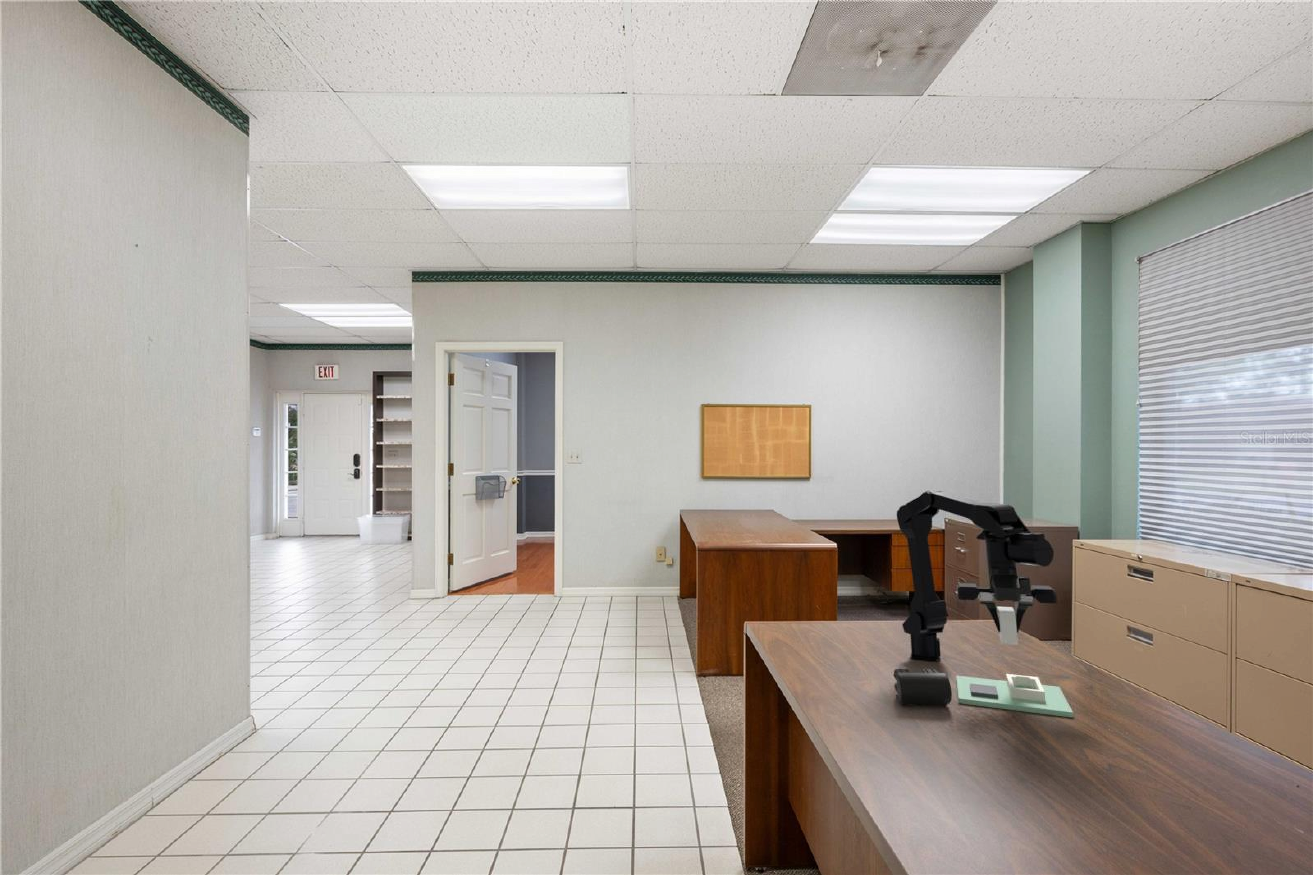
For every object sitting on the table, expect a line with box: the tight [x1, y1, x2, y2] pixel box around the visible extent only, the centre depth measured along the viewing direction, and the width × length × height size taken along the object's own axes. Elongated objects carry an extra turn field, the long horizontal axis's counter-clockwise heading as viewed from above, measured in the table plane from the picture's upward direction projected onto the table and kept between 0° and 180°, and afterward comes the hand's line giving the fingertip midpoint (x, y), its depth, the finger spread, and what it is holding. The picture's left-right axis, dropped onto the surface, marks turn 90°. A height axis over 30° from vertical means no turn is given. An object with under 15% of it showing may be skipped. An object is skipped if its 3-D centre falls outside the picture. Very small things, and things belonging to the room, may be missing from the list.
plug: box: [996, 606, 1019, 646], centre depth 129 cm, size 3×6×7 cm, turn 154°
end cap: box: [893, 668, 953, 707], centre depth 123 cm, size 10×7×7 cm
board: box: [956, 673, 1074, 718], centre depth 124 cm, size 20×14×3 cm
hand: (1007, 632), depth 128 cm, fingers closed on plug, 3 cm apart
